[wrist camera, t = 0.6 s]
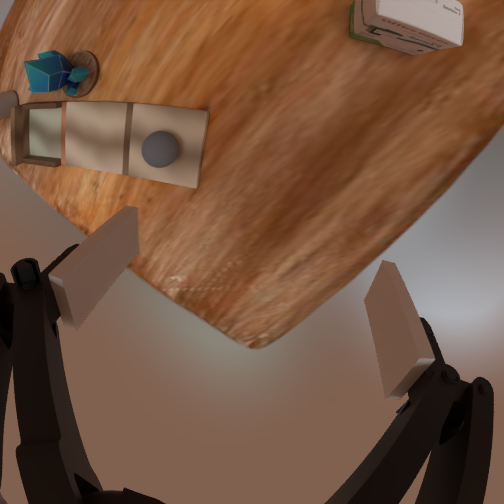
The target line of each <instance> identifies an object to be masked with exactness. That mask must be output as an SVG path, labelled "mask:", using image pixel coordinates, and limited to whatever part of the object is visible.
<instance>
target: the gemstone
mask: <svg viewBox="0 0 504 504" xmlns="http://www.w3.org/2000/svg"><path fill="white" fill-rule="evenodd" d="M38 56H39V60H30V61H24V63H25V68H26V72H27V76H28V80H29V83H30V87H29V89H28V90H30V91H32V93H40V92H52V91H57V90H59V89H61V88H62V89H63V91H64V92H65V93H66V95H68V96H70V97H74V98H76V97H82V96H84V95H86V94H87V93H89V92H90V91H91V89H92V88H93V87H94V85H95V83H96V81H97V78H98V73H99V65H98V61H97V59H96V57H95V56H94V55H93V54H92V53H91V52H88V51H78V52H75V53H73V54H72V55H71V56H70V57H69V58H68V59H67V58H66V57H65V56H64V55H62V54H60V53H59V52H57V51H55V50H53V51H48V52H44V53H40V54H38Z"/></svg>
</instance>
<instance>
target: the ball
mask: <svg viewBox="0 0 504 504" xmlns="http://www.w3.org/2000/svg"><path fill="white" fill-rule="evenodd" d="M178 152H179V144H178V141H177V139H176V138H175V137H174V136H173V135H172V134H171V133H169V132H166V131H156V132H153V133H152V134H150V135H149V136H148V137H147V138H146V139H145V140H144V142H143V145H142V156H143V158H144V160H145V162H146V163H147V164H149V165H150V166H152V167H155V168H163V167H167V166H169V165H170V164H172V163H173V162H174V161H175V159H176V158H177V156H178Z"/></svg>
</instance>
